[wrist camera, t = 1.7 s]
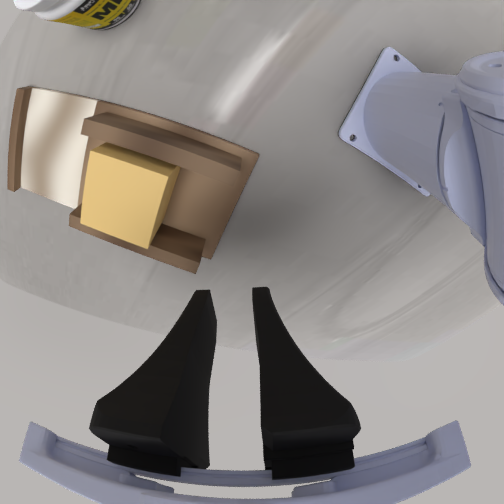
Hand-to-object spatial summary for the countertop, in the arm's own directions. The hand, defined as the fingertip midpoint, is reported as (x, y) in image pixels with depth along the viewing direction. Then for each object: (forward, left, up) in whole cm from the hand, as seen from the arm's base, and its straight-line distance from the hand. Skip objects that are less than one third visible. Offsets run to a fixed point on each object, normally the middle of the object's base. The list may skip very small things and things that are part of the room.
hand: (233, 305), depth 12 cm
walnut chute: (+11, 0, -9) cm, 14 cm away
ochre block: (+8, 0, -9) cm, 12 cm away
